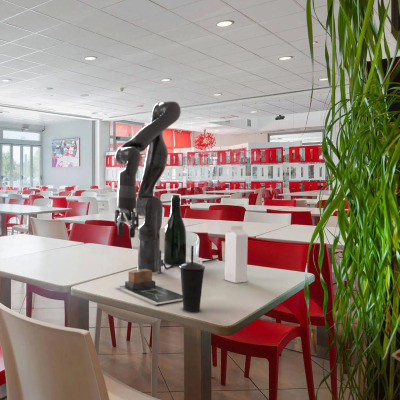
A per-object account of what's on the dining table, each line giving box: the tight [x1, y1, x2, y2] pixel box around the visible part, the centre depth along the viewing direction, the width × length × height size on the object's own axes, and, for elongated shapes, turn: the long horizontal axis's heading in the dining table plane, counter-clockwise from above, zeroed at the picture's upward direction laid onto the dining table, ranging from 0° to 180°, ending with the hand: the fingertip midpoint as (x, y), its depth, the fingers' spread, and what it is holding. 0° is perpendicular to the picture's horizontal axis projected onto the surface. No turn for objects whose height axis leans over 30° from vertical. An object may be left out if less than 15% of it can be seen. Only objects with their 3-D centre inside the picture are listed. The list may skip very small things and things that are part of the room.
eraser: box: [124, 269, 156, 290], centre depth 154 cm, size 10×5×6 cm, turn 117°
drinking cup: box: [178, 245, 206, 313], centre depth 129 cm, size 8×8×20 cm
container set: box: [188, 256, 203, 266], centre depth 179 cm, size 20×5×6 cm, turn 155°
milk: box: [224, 225, 249, 284], centre depth 167 cm, size 6×6×22 cm
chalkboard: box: [118, 284, 183, 307], centre depth 148 cm, size 14×24×1 cm, turn 27°
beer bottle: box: [163, 194, 187, 266], centre depth 201 cm, size 10×10×33 cm
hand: (125, 236), depth 171 cm, fingers open, 8 cm apart
